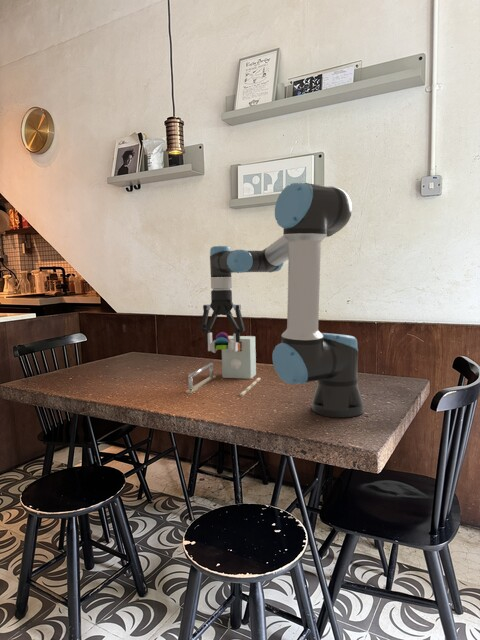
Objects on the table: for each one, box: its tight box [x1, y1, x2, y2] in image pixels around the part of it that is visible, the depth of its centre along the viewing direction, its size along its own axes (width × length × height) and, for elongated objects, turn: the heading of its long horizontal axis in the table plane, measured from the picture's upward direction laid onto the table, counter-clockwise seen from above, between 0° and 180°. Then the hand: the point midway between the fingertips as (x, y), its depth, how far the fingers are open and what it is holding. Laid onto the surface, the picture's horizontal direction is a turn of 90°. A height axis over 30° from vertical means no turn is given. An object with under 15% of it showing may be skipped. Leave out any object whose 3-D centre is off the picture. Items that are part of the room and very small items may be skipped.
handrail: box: [185, 362, 217, 394], centre depth 168 cm, size 25×2×6 cm, turn 163°
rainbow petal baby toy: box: [210, 331, 234, 354], centre depth 161 cm, size 8×10×7 cm
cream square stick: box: [239, 377, 262, 397], centre depth 163 cm, size 25×1×1 cm, turn 163°
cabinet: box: [221, 335, 257, 380], centre depth 180 cm, size 8×12×16 cm
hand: (222, 350), depth 162 cm, fingers closed on rainbow petal baby toy, 9 cm apart
